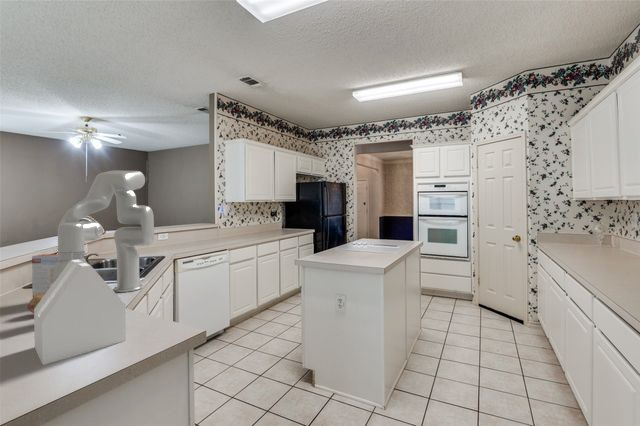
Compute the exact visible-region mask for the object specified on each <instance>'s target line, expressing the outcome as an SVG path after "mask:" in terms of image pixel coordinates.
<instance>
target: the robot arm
mask: <svg viewBox="0 0 640 426" xmlns="http://www.w3.org/2000/svg"><path fill="white" fill-rule="evenodd" d="M145 183H146V177H145V175H144V174H143V172H142V171H139V170H117V169H116V170H108V171H105V172H104V171H103V172H100V173H98V174H97V175H95V178H94V180H93V182H92V184H91V186H90V188H89V191H88V192H87V195H86V197H84V199H82V200H80V201H78V202H77V203H76V204H74V205H73V206H71V207H70V208H68V209H67V211H66V212H65V213H64V214H63V216H62V218H61V220H60V221H59V225H58V226H57V254H58V261H57V262H56V264H55V267H54V274H53V281H52V282H51V283H50V284H48V285H47V288H48V290H49V288H50V287H51V286H52V284H53V283H54V282H55V280H56V279H57V278H58V276H59V275H60V274H61V272H62V271H63V270H64V268H65V267H66V266H67V264H68V263H69V262H70V260H77V259H78V260H81V261H83V262H84V263H87V261H86V258H85V255H86V251H85V241H95V240H98V239H99V238H101V237H102V235H103V233H104V228H103V226H102V225H101V224H100V223H99V222H98V221H80V220H83V218H84V217H87V216H89V215H92V214H93V213H94V214H95V213H98V212H100V211H103V210H105V209H107V208H108V207H109V206H110V204H111V201H112V199H113V198H114V195H115V199H116V200H115V201H116V204H115V205H116V217H117V218H116V219H117V222H118V223H120V224H122V225H140V226H123V227H119V228H117V229H116V230H115V231H114V233H113V238H114V243H115V247H116V287H114V288H113V291H114V292H115V293H129V292H134V291H139V290H141V289H143V287H144V285H143V284H141V283H142V282H144V281H146V278H145V277H140V253H139V251H138V249H137V248H136V246H137V247H138V246H140V247H141V246H151V245H152V244H153V242H154V240H155V219H154V218H155V217H154V212H153V210H152V208H151V207H150V206H147V205H138V204H137V194H136V193H135V190H139V189H142V187H144V185H145Z"/></svg>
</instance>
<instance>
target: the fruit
mask: <svg viewBox="0 0 640 426" xmlns="http://www.w3.org/2000/svg"><path fill="white" fill-rule="evenodd" d="M44 295H45V294H38V295H36V296H35V297H34V298H33V297H32V298H31V299H30V300H29V302H28V303H27V304H28V305H27V309H28V311H29V312H31V313H32V314H34V309H35V307H36V306H37V305H38V303H39V302H40V301H41V299H42V298H43V296H44Z"/></svg>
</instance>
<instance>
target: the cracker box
mask: <svg viewBox="0 0 640 426" xmlns="http://www.w3.org/2000/svg"><path fill="white" fill-rule="evenodd" d="M57 261H58V253H57V254H53V253H52V254H50V253H49V254H47V253H44V254H37V255H32V256H31V269H32V270H31V276H32V279H31V280H32V284H31V285H32V288H31V289H32V299H33V298H34V297H35V296H36V295H38V294H46V292H47V291H48V288H47V285H48V284H50V283H51V282H52V281H53V274H54V267H55V264H56V262H57Z"/></svg>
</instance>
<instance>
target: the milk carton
mask: <svg viewBox="0 0 640 426" xmlns="http://www.w3.org/2000/svg"><path fill="white" fill-rule="evenodd" d="M126 313H127V312H126V303H125V302H124V301H123V300H122V299H121V297H119V295H117V292H115V291H114V289H112V288H111V287H110V286H109V284H108V283H107V282H106V281H105V280H104V279H103V277H102V276H101V275H100V274H99V273H98V271H96V270H95V268H94V267H93V266H92V265H90V264H89V263H88V262H86V263H84V262H83V261H81V260H78V259H77V260H70V262H69V263H68V264H67V266H66V267H65V268H64V270H63V271H62V272H61V274H60V275H59V276H58V278H57V279H56V280H55V282H54V283H53V284H52V286H51V287H50V288H49V290H48V291H47V292H46V294H45V295H44V296H43V298H42V299H41V301H40V302H39V303H38V305H37V306H36V307H35V309H34V313H33V319H34V320H33V321H34V323H33V324H34V325H33V326H34V328H33V329H34V330H33V331H34V332H33V333H34V336H33V338H34V349H35V351H36V353H37V356H38V357H39V359H40V362H41V364H42V366H44V365H47V364H51V363H55V362H58V361H61V360H65V359H69V358H72V357H75V356H79V355H82V354H86V353H89V352H92V351H96V350H99V349H103V348H106V347H109V346H112V345H116V344H119V343H123V342H125V341H126V339H127V333H126V329H127V328H126V327H127V326H126V320H127V319H126V318H127V317H126Z"/></svg>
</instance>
